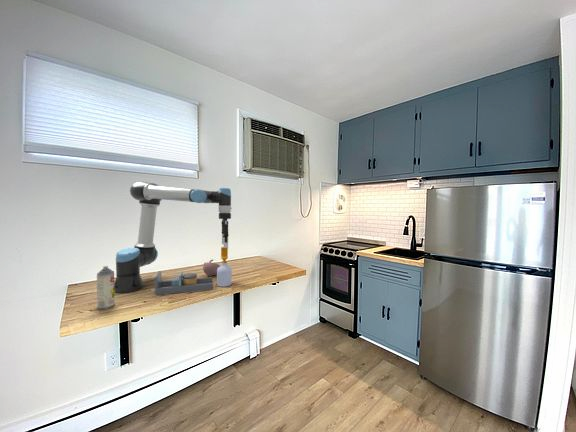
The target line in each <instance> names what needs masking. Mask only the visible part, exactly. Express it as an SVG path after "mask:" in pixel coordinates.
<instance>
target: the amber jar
mask: <svg viewBox="0 0 576 432" xmlns="http://www.w3.org/2000/svg"><path fill="white" fill-rule="evenodd" d="M197 278H198V273H195V272H194V273H193V272H190V273H189V272H188V273H185V274H184V273H183V274H182V280H183V286H186V285H197Z"/></svg>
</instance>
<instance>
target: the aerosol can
mask: <svg viewBox="0 0 576 432" xmlns="http://www.w3.org/2000/svg"><path fill="white" fill-rule="evenodd" d="M114 282H115V271H114V270H112V269H110V268H109V267H108V265H104V266H103V267H102V268H101V270H100V271H98V272H97V273H96V294H97V295H96V302H97V303H96V305H97V306H96V307H97V309H98V310H106V308H107V309H110V308H112V306H113V307H114V306H115V304H116V303H115V301H116V299H115V298H116V297H115V296H116V295H115V293H116V292H115V291H114Z"/></svg>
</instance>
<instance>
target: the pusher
mask: <svg viewBox="0 0 576 432" xmlns="http://www.w3.org/2000/svg"><path fill="white" fill-rule="evenodd" d="M182 276H183V270H180V271H179V275H178V276H177V277H172V279H171V281H172V287H175V286H182V280H183V278H182Z"/></svg>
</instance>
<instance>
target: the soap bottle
mask: <svg viewBox="0 0 576 432" xmlns="http://www.w3.org/2000/svg"><path fill="white" fill-rule="evenodd" d="M220 249H221V250H220V252H221V253H220V259H222V261H221V265H220V267H219V268H218V269H217V274H216V286H217V287H221V288H222V287H223V288H225V287H226V288H227V287H229V286H231V285H232V272H233V271H232V267H231V266H230V265H228V261H227V259H229V256H228V254H229V253H228V251H229V250H228V249H229V247H228V248H224V246H222V247H220Z"/></svg>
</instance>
